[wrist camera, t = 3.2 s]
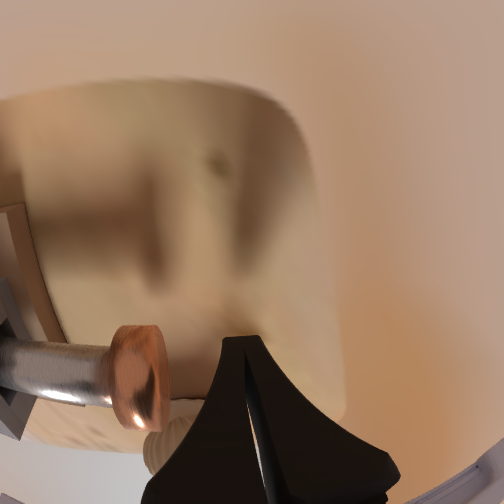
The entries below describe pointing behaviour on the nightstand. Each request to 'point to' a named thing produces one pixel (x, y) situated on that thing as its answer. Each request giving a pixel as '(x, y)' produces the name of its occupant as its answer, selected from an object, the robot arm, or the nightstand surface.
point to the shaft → (96, 374)
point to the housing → (22, 309)
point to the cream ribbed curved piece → (170, 433)
